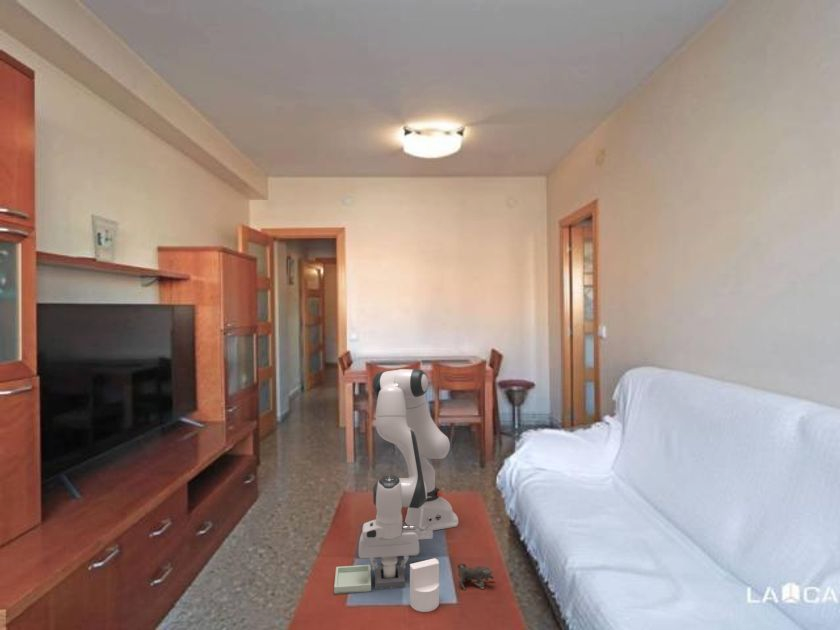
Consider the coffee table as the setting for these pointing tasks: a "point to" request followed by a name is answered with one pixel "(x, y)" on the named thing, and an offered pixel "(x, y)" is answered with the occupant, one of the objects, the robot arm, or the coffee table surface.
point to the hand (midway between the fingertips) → (389, 568)
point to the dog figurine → (474, 575)
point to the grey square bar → (426, 533)
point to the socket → (390, 582)
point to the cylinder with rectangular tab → (424, 585)
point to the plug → (389, 567)
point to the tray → (352, 579)
